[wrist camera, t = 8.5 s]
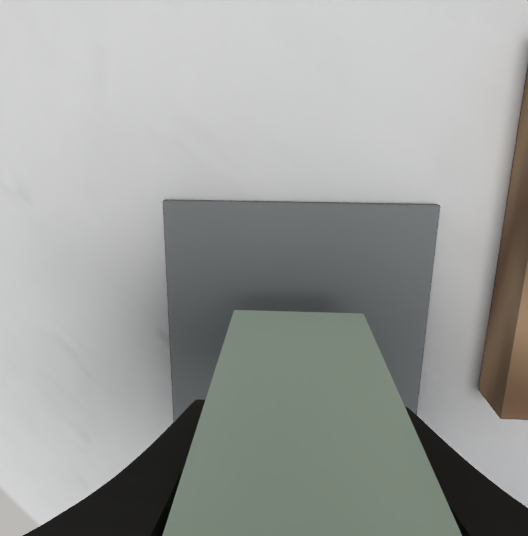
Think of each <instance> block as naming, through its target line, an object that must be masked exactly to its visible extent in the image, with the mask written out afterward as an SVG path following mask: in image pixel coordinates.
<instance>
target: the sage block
mask: <svg viewBox="0 0 528 536" xmlns="http://www.w3.org/2000/svg"><path fill="white" fill-rule="evenodd" d="M162 536H462V534H461V532H460V530H459V527H458V525H457V523H456V521H455V518H454V516H453V514H452V512H451V509H450V507H449V505H448V503H447V500H446V498H445V496H444V494H443V491H442V489H441V487H440V485H439V482H438V480H437V478H436V476H435V473H434V471H433V469H432V467H431V464H430V462H429V460H428V458H427V455H426V453H425V451H424V449H423V446H422V444H421V442H420V440H419V437H418V435H417V433H416V431H415V428H414V426H413V424H412V422H411V419H410V417H409V415H408V413H407V410H406V408H405V406H404V404H403V401H402V399H401V397H400V395H399V392H398V390H397V388H396V386H395V383H394V381H393V379H392V377H391V374H390V372H389V370H388V368H387V365H386V363H385V361H384V359H383V356H382V354H381V352H380V350H379V347H378V345H377V343H376V341H375V338H374V336H373V334H372V332H371V329H370V327H369V325H368V323H367V320H366V318H365V316H364V314H363V313H328V312H291V311H255V310H234V312H233V315H232V318H231V321H230V324H229V327H228V331H227V334H226V337H225V340H224V343H223V346H222V349H221V353H220V356H219V359H218V362H217V365H216V368H215V371H214V375H213V378H212V381H211V384H210V387H209V390H208V394H207V397H206V400H205V403H204V406H203V409H202V412H201V416H200V419H199V422H198V425H197V428H196V431H195V435H194V438H193V441H192V444H191V447H190V450H189V453H188V457H187V460H186V463H185V466H184V469H183V472H182V475H181V479H180V482H179V485H178V488H177V491H176V494H175V498H174V501H173V504H172V507H171V510H170V513H169V516H168V520H167V523H166V526H165V529H164V532H163V535H162Z"/></svg>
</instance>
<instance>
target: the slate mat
mask: <svg viewBox="0 0 528 536" xmlns="http://www.w3.org/2000/svg"><path fill="white" fill-rule="evenodd" d="M439 211H440V205H437V204H394V203H334V202H275V201H215V200H164V201H163V215H164V235H165V256H166V276H167V296H168V317H169V337H170V357H171V378H172V398H173V419H174V421H175V420H176V419H177V418H178V417H179V416H180V415H181V414H182V413H183V412H184V411H185V410H186V409H187V408H188V406H189V405H190V404H191V403H192V402H194V401H195V400H196V399H199V400H206V397H207V394H208V390H209V387H210V384H211V381H212V378H213V375H214V371H215V368H216V365H217V362H218V359H219V356H220V353H221V349H222V346H223V343H224V340H225V337H226V334H227V331H228V327H229V324H230V321H231V318H232V315H233V312H234V310H255V311H291V312H328V313H363V314H364V316H365V318H366V320H367V323H368V325H369V327H370V329H371V332H372V334H373V336H374V338H375V341H376V343H377V345H378V347H379V350H380V352H381V354H382V356H383V359H384V361H385V363H386V365H387V368H388V370H389V372H390V374H391V377H392V379H393V381H394V383H395V386H396V388H397V390H398V392H399V395H400V397H401V399H402V401H403V404H404V406H405V407H408V408H409V409H410V410H411V411H412V412H413V413H415V414H416V413H417V404H418V395H419V386H420V378H421V369H422V360H423V351H424V343H425V334H426V325H427V316H428V307H429V299H430V290H431V281H432V272H433V264H434V255H435V246H436V237H437V228H438V220H439Z"/></svg>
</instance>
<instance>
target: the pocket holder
mask: <svg viewBox="0 0 528 536" xmlns="http://www.w3.org/2000/svg"><path fill="white" fill-rule="evenodd" d="M478 390H479V391H480V393H481V394H482V395H483V397H484V398H485V399H486V400H487V402H488V403H489V404H490V406H491V407H492V408H493V410H494V411H495V412H496V413H497V415H498V416H499V417H500V419H520V420H528V69H527V76H526V82H525V89H524V95H523V102H522V108H521V115H520V121H519V128H518V134H517V141H516V147H515V154H514V161H513V167H512V174H511V180H510V187H509V193H508V200H507V206H506V213H505V219H504V226H503V232H502V239H501V245H500V252H499V259H498V265H497V272H496V278H495V285H494V291H493V298H492V304H491V311H490V317H489V324H488V330H487V337H486V344H485V350H484V357H483V363H482V370H481V376H480V383H479V389H478Z"/></svg>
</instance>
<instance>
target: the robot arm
mask: <svg viewBox="0 0 528 536" xmlns="http://www.w3.org/2000/svg"><path fill="white" fill-rule="evenodd" d="M204 403H205V400H199V399H196V400H195V401H194V402H192V403H191V404H190V405H189V406H188V408H187V409H186V410H185V411H184V412H183V413H182V414H181V415H180V416H179V417H178V418H177V419H176V420H175V421H174V423H173V424H172V425H171V426H170V427H169V428H168V429H167V430H166V431H165V432H164V433H163V434H162V435H161V436H160V437H159V438H158V439H157V440H156V441H155V442H154V443H153V444H152V445H151V446H150V447H149V448H147V449H146V450H145V451H144V452H143V453H142V454H141V455H140V456H139V457H137V458H136V459H135V460H134V461H133V462H132V463H131V464H129V465H128V466H127V467H126V468H125V469H124V470H123V471H121V472H120V473H119V474H118V475H117V476H115V477H114V478H113V479H111V480H110V481H109V482H107V483H106V484H105V485H103V486H102V487H101V488H99V489H98V490H96V491H95V492H94V493H92V494H91V495H89V496H88V497H86V498H85V499H84V500H82V501H80V502H79V503H77V504H76V505H74V506H72V507H71V508H69V509H68V510H66V511H64V512H63V513H61V514H60V515H58V516H56V517H55V518H53V519H52V520H50V521H48V522H47V523H45V524H43V525H41V526H40V527H38V528H36V529H34V530H32V531H31V532H29V533H27V534H25V535H23V536H162V535H163V532H164V529H165V526H166V523H167V520H168V516H169V513H170V510H171V507H172V504H173V501H174V498H175V494H176V491H177V488H178V485H179V482H180V479H181V475H182V472H183V469H184V466H185V463H186V460H187V457H188V453H189V450H190V447H191V444H192V441H193V438H194V435H195V431H196V428H197V425H198V422H199V419H200V416H201V412H202V409H203V406H204ZM405 408H406V410H407V413H408V415H409V417H410V419H411V422H412V424H413V426H414V428H415V431H416V433H417V435H418V437H419V440H420V442H421V444H422V446H423V449H424V451H425V453H426V455H427V458H428V460H429V462H430V464H431V467H432V469H433V471H434V473H435V476H436V478H437V480H438V482H439V485H440V487H441V489H442V491H443V494H444V496H445V498H446V500H447V503H448V505H449V507H450V509H451V512H452V514H453V516H454V518H455V521H456V523H457V525H458V527H459V530H460V532H461V534H462V536H528V508H527V507H525V506H524V505H522V504H521V503H520V502H518V501H517V500H515V499H514V498H512V497H511V496H510V495H508V494H507V493H506V492H504V491H503V490H502V489H500V488H499V487H498V486H497V485H495V484H494V483H493V482H492V481H490V480H489V479H488V478H486V477H485V476H484V475H483V474H481V473H480V472H479V471H478V470H476V469H475V468H474V467H473V466H472V465H471V464H469V463H468V462H467V461H466V460H465V459H463V458H462V457H461V456H460V455H459V454H458V453H457V452H456V451H454V450H453V449H452V448H451V447H450V446H449V445H448V444H447V443H446V442H444V441H443V440H442V439H441V438H440V437H439V436H438V435H437V434H436V433H435V432H434V431H433V430H432V429H430V428H429V427H428V426H427V425H426V424H425V423H424V422H423V421H422V420H421V419H420V418H419V417H418V416H417V415H416V414H415V413H413V412H412V411H411V410H410V409H409V408H408V407H405Z"/></svg>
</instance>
